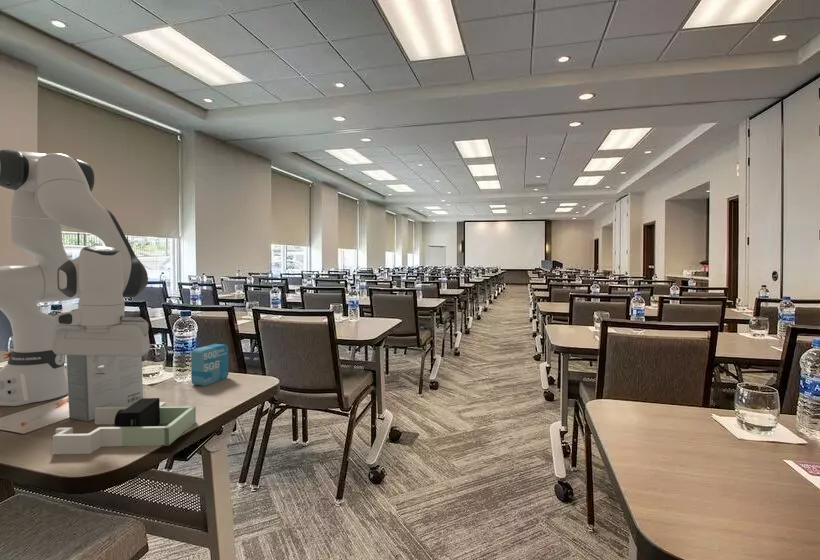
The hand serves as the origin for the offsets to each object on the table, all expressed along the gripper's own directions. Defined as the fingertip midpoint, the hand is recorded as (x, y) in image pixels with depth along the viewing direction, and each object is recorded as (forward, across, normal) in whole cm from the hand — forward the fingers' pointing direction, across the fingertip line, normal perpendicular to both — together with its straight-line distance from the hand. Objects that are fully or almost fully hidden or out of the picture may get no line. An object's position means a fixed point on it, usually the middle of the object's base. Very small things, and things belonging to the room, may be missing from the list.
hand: (102, 373), depth 101 cm
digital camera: (+14, -8, 0) cm, 17 cm away
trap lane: (+14, -7, +1) cm, 16 cm away
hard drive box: (+15, +8, -15) cm, 23 cm away
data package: (+15, -9, -42) cm, 46 cm away
